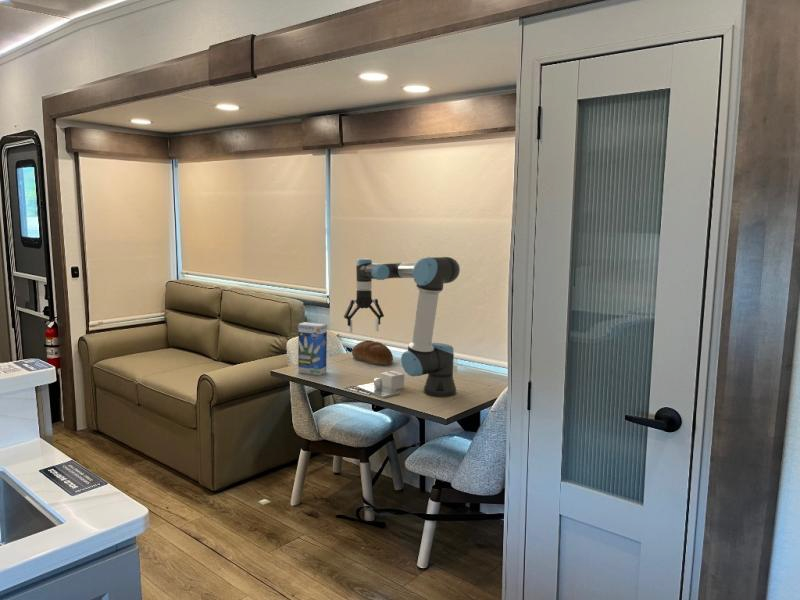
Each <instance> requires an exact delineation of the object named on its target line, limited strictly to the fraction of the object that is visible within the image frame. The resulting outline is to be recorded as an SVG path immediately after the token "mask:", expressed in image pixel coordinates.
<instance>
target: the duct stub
mask: <svg viewBox="0 0 800 600" xmlns="http://www.w3.org/2000/svg"><path fill="white" fill-rule="evenodd" d="M382 382H383V379H382V378H381V377H374V378H373V382H370V383H366V384H361V385H356V389H358V390H360V389H361V390H360V391H363V392H365V393H369V394H371V395H373V396H377V397H379V398H382V399H385V398H389V397H393V396H398V395H401V391H398V390H393V389H390V388H387V387H384V386H382Z"/></svg>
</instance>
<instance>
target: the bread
mask: <svg viewBox="0 0 800 600" xmlns="http://www.w3.org/2000/svg"><path fill="white" fill-rule="evenodd" d="M351 356H352V357H353V358H354V360H357V361H360V362H362V363H366V364H370V365H374V366H388V365H391V364H392V363H393V361H394V355H393V353H392V351H391V350H390V349H389V348H388V346H387V345H385V344H383V343H382V342H379V341H373V340H369V339H367V340H363V341H360V342H359V343H356V345H354V347H353V348H352V351H351Z"/></svg>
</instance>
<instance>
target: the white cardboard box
mask: <svg viewBox="0 0 800 600" xmlns="http://www.w3.org/2000/svg"><path fill="white" fill-rule="evenodd" d="M380 378H382V379H383V382H382V386H384V387H387V388H390V389H393V390H395V391H397V390H400V389H404V388H405V374H404V373H402V372H400V371H397V370H390V371H385V372H381V373H380Z"/></svg>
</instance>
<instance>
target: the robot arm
mask: <svg viewBox="0 0 800 600" xmlns="http://www.w3.org/2000/svg"><path fill="white" fill-rule="evenodd" d="M372 261H373V260H372V259H371V258H357V260H356V267H355V268H356V270H355V271H356V272H355V273H356V274H355V275H356V299H350V301H349V305H348V307H347V308H346V311H345V312H344V315H343V318H344V319H346V320H347V326H348V327H349V329H348V330H349V333H350V334H351V333H353V319H352V318H353V317H354V315H355V314H357V312H358V310H360V309H369V310H371V312H372V313H373V314H374V316H375V326H374V327H375V332H379V325H381V318H384V316H385V315H384V312H383V310H382V309H381V306H380V304H379V299H378V298H374V299H373V295H372V293H373V292H372V286H373V285H372V283H373V282H372V281H373V280H377V281H384V280H390V279H413V281H414V283H415V284H416V285H415V286H416V288H417V289H418V290H419V291H418V298H417V305H416V310H415V311H416V312H415V313H416V314H415V319H414V327H413V334H412V335H413V336H412V341H411V342H409V343H408V347H407V350H406V351H404V352H403V353H402V355H401V358H400V360H401V361H400V363H401V367H402V369H403V371H404V372H405V373H406V374H407V375H408V376H410V377H421V376H423V375H427V377H426V381H425V384H424V386H423V393H424V394H425V395H427V396H433V397H439V398H440V397H441V398H442V397H443V398H444V397H452V396H455V395H456V393H457V387H456V384H455V380H454V379H455V378H454V360H455V359H454V355H455V354H454V353H455V352H454V347H453V345H451V344H446V343H440V342H432V341H433V335H434V328H435V320H436V315H437V307H438V301H439V294H440V293H441V292H443V289H444V284H450V283H453V282H454V281H455V280H456V279H458V277H459V275H460V272H461V271H460V270H461V268H460V264H459V263H458V261H457V260H456V259H454V258H453V257H450V256H441V257H440V256H439V257H429V256H427V257H423V258H420V259H419V260H418V261H416V262H414V261H412V262H410V261H409V262H390V263H389V262H387V263H373V262H372ZM372 303H373V304H374V305H375V307H376V309H377V310H376V309H375V308H374V307H373V305H372ZM355 304H356V306H354V305H355ZM352 309H353V310H352Z"/></svg>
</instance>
